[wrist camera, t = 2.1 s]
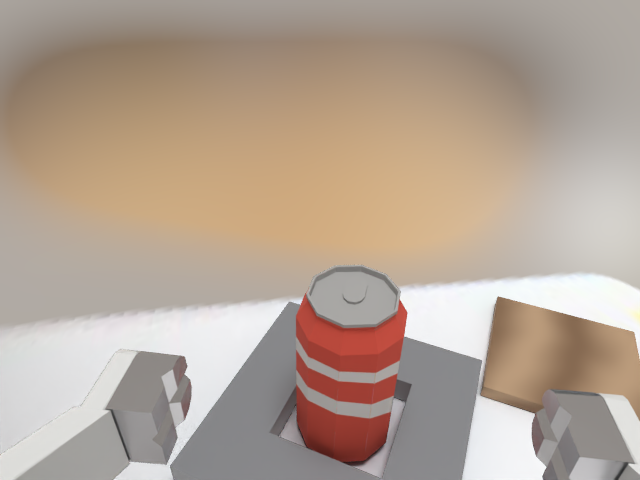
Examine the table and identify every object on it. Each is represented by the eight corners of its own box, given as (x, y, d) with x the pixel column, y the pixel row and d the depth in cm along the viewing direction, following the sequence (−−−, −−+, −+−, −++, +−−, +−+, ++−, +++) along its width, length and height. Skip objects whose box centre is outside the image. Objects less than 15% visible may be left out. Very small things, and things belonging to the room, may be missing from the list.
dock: (175, 484, 29) (169, 466, 27) (289, 318, 41) (289, 301, 40) (435, 610, 24) (442, 593, 22) (476, 378, 36) (481, 360, 35)
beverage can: (392, 397, 34) (414, 267, 28) (380, 480, 29) (403, 345, 22) (312, 380, 35) (314, 251, 29) (287, 457, 30) (283, 321, 24)
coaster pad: (480, 395, 35) (483, 386, 34) (495, 304, 43) (497, 296, 43) (649, 450, 31) (655, 442, 31) (629, 340, 40) (634, 332, 39)
